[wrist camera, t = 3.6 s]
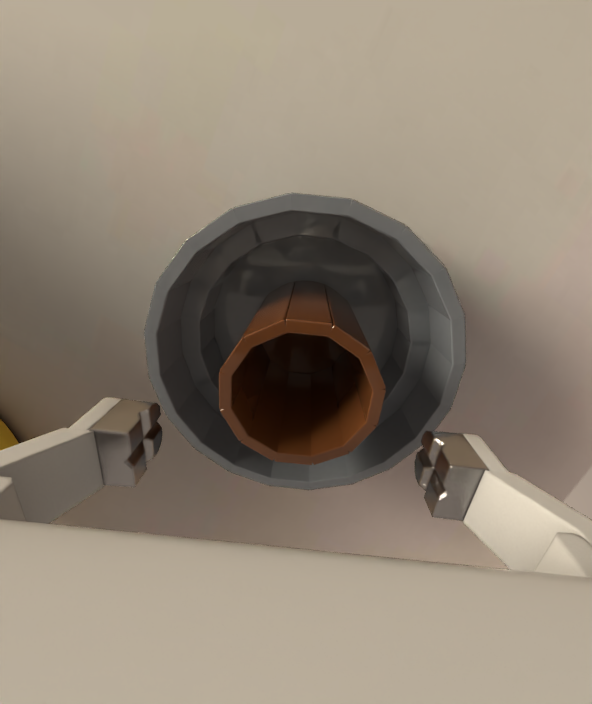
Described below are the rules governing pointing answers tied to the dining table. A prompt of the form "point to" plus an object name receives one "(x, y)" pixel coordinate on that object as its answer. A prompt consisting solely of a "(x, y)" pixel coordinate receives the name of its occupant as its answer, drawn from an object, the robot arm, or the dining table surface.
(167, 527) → the dining table surface
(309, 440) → the cup
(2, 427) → the teapot
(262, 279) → the grey round tub
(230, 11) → the dining table surface
